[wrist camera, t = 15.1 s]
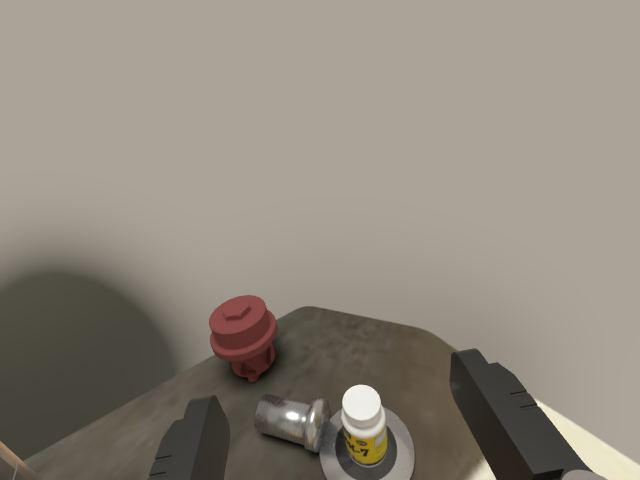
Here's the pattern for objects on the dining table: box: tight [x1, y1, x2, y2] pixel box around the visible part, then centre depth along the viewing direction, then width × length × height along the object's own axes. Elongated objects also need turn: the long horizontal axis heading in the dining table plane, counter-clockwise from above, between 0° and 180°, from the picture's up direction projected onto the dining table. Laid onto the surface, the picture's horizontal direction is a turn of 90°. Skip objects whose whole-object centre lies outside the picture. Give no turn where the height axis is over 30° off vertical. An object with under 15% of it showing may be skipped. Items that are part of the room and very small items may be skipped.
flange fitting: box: [254, 394, 415, 480], centre depth 36 cm, size 19×11×6 cm, turn 70°
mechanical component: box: [209, 295, 277, 383], centre depth 47 cm, size 12×10×10 cm
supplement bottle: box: [341, 385, 388, 468], centre depth 34 cm, size 5×5×8 cm
